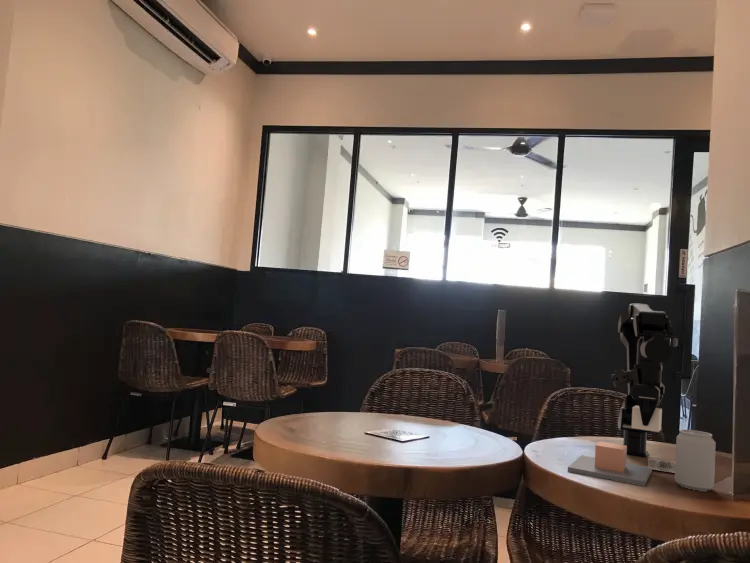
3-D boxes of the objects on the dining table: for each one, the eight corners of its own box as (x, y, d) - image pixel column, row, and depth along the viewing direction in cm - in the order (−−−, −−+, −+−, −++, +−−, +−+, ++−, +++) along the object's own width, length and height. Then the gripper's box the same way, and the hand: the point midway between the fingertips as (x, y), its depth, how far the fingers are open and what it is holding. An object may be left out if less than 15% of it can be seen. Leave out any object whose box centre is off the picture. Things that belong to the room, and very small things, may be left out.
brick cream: (635, 425, 147) (635, 405, 147) (661, 429, 144) (662, 408, 144) (631, 428, 142) (632, 407, 142) (658, 432, 139) (659, 411, 139)
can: (719, 494, 121) (721, 436, 122) (680, 489, 123) (682, 432, 124) (706, 484, 129) (708, 430, 129) (670, 480, 130) (672, 426, 131)
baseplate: (581, 459, 145) (581, 455, 145) (651, 471, 137) (651, 467, 137) (567, 471, 132) (567, 467, 132) (644, 486, 124) (644, 481, 124)
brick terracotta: (598, 462, 139) (599, 441, 139) (626, 467, 136) (627, 445, 136) (594, 467, 134) (595, 445, 134) (622, 472, 131) (623, 449, 131)
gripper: (619, 357, 156) (617, 415, 155) (608, 358, 140) (605, 423, 139) (665, 361, 151) (663, 421, 150) (659, 363, 135) (657, 431, 134)
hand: (646, 424), depth 143 cm, fingers closed on brick cream, 6 cm apart
